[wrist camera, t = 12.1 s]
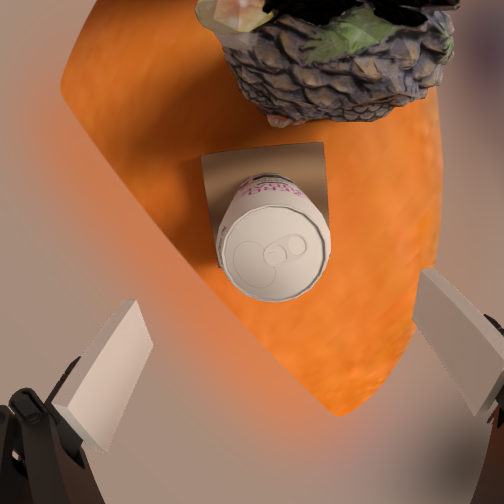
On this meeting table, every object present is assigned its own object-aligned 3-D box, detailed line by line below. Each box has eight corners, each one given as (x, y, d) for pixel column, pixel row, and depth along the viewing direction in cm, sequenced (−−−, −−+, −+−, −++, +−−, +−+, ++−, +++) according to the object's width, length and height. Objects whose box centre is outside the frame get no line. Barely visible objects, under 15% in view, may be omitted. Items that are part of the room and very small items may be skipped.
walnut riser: (206, 154, 34) (200, 155, 31) (316, 142, 33) (323, 141, 30) (222, 256, 39) (218, 268, 36) (323, 245, 38) (330, 256, 35)
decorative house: (257, 151, 34) (251, 164, 11) (218, 49, 29) (155, -69, 6) (401, 113, 31) (547, 105, 8) (363, 18, 26) (458, -72, 3)
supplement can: (254, 251, 35) (250, 325, 21) (220, 192, 32) (190, 231, 18) (314, 222, 33) (352, 280, 19) (283, 159, 30) (304, 172, 17)
